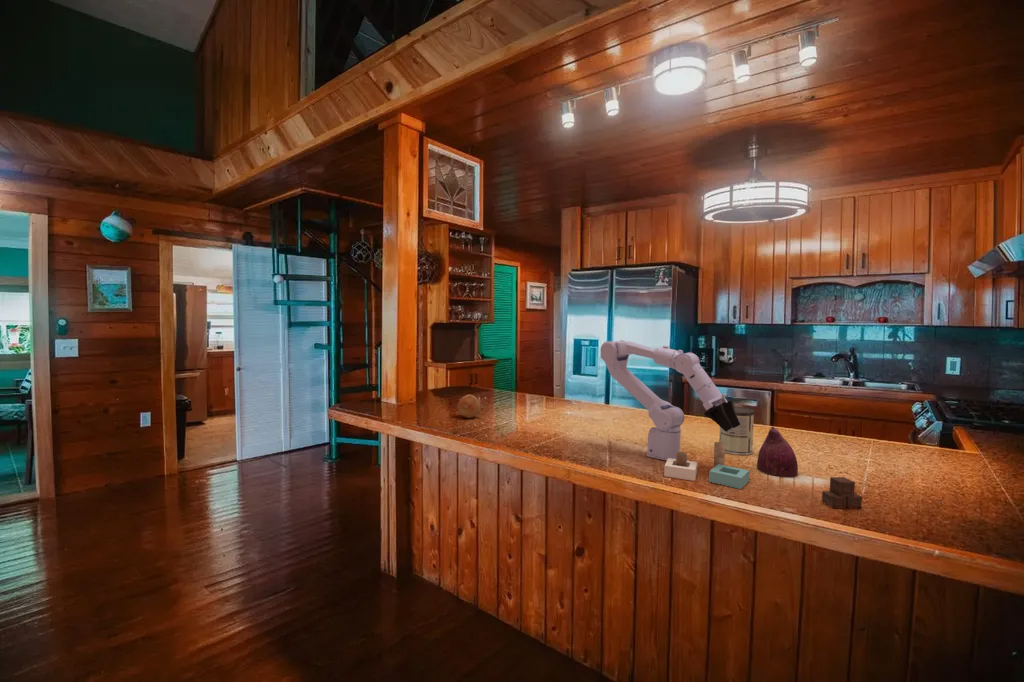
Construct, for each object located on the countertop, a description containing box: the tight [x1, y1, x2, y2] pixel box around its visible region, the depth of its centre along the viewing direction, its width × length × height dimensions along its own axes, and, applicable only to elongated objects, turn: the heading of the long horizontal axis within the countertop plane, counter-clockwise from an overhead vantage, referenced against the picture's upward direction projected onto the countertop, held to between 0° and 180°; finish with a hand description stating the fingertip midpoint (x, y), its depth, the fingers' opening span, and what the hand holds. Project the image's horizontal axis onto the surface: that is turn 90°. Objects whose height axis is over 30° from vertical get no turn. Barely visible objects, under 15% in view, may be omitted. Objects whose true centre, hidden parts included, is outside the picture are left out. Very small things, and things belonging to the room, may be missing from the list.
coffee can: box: [718, 406, 755, 456], centre depth 156 cm, size 10×10×14 cm
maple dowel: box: [713, 441, 726, 468], centre depth 136 cm, size 3×3×8 cm
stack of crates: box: [821, 476, 863, 508], centre depth 113 cm, size 15×15×7 cm
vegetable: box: [756, 425, 799, 478], centre depth 135 cm, size 10×10×15 cm
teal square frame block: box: [708, 464, 750, 490], centre depth 127 cm, size 8×8×3 cm
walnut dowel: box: [676, 451, 688, 467], centre depth 132 cm, size 3×3×6 cm
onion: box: [456, 393, 482, 419], centre depth 201 cm, size 10×10×10 cm
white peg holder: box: [663, 458, 698, 482], centre depth 132 cm, size 8×8×3 cm
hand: (733, 428), depth 134 cm, fingers open, 7 cm apart
